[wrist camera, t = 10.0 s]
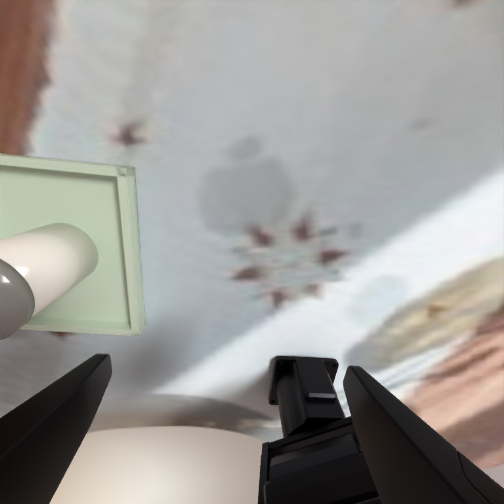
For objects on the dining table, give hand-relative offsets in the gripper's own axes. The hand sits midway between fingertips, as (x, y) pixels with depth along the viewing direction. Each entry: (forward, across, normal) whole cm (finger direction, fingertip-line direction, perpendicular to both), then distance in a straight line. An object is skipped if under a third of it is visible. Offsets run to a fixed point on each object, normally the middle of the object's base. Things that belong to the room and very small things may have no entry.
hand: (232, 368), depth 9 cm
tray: (+12, +14, +1) cm, 18 cm away
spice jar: (+12, +13, +1) cm, 18 cm away
